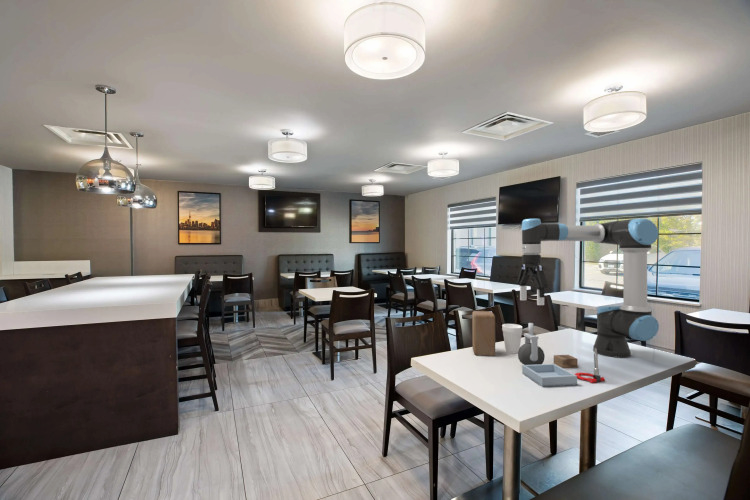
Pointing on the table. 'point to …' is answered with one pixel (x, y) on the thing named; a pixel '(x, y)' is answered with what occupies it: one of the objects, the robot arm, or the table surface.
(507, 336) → the foam cup
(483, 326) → the wooden block
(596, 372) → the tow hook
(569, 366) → the block
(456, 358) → the table surface
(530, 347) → the trolley wheel
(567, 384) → the tray
